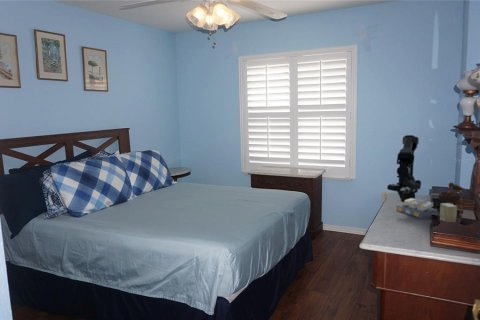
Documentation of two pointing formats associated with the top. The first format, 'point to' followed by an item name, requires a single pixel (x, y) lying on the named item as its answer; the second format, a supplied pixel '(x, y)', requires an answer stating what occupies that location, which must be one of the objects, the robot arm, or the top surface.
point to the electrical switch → (436, 201)
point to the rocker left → (408, 201)
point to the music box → (452, 198)
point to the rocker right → (424, 206)
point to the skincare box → (448, 212)
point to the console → (416, 211)
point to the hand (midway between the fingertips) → (403, 202)
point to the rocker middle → (416, 203)
